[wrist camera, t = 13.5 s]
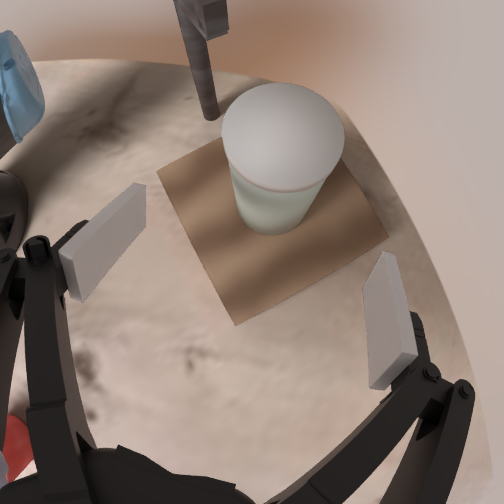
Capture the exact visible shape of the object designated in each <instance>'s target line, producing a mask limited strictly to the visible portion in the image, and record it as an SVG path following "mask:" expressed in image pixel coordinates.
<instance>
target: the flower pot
mask: <svg viewBox="0 0 504 504" xmlns="http://www.w3.org/2000/svg"><path fill="white" fill-rule="evenodd" d="M2 453H3V455H4V457H5V460H6V463H7V465H8V469H9V470H8V473H7V474H6V478H7V481H8V483H10V482H13V481H14V480H15V479H16V477H17V476H18V475H19V474H20V473H21V472H22V471H23V470H24V469H25V468H26V467H27V465H28V464H29V463H30V462H31V461H32V459H33V458H34V456H33V452H32V447H31V442H30V437H29V432H28V427H27V426H26V425H25V424H24V423H23V422H22V421H21V420H20V419H19V418H17V417H15V416H13V415H7V425H6V435H5V442H4V447H3V452H2Z"/></svg>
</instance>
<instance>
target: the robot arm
mask: <svg viewBox="0 0 504 504" xmlns="http://www.w3.org/2000/svg"><path fill="white" fill-rule="evenodd" d="M44 111H45V100H44V95H43V92H42V88H41V85H40V82H39V80H38V77H37V75H36V72H35V70H34V67H33V65H32V63H31V61H30V59H29V57H28V55H27V53H26V51H25V49H24V47H23V45H22V44H21V42H20V40H19V39H18V38H17V37H16V36H15V35H14V33H13V32H12V31H9V30H7V31H5V32H3V33H0V159H1V158H2V157H3V156H4V155H5V154H6V153H7V152H8V151H9V150H10V149H11V148H12V147H14V146H15V145H16V144H17V143H21V142H22V140H23V137H24V136H25V135H26V134H27V133H29V132H30V131H31V130H32V129H33V128H34V127H35V126H36V125H37V124H38V123H39V122H40V121H41V119H42V117H43V115H44ZM27 210H28V202H27V194H26V190H25V187H24V185H23V183H22V182H21V180H20V179H19V178H18V177H16V176H14V175H13V174H11V173H9V172H7V171H4V170H0V504H256V503H255V502H254V501H253V500H252V499H250V498H249V497H248V496H247V495H245V494H244V493H242V492H241V491H239V490H237V489H235V486H236V484H233V483H229V482H225V481H221V480H217V479H214V478H210V477H206V476H191V475H179V474H173V473H171V472H169V471H167V470H166V469H164V468H163V467H161V466H160V465H158V464H157V463H155V462H154V461H152V460H151V459H149V458H148V457H146V456H144V455H142V454H139V453H137V452H134V451H132V450H130V449H127V448H125V447H123V446H120V445H118V446H117V448H116V449H114V448H98V449H97V447H96V444H95V441H94V439H93V437H92V435H91V432H90V430H89V428H88V424H87V421H86V417H85V413H84V409H83V405H82V401H81V397H80V393H79V388H78V383H77V379H76V374H75V368H74V363H73V357H72V351H71V345H70V338H69V331H68V324H67V315H66V306H65V298H64V293H65V292H66V290H67V289H68V291H69V294H70V298H72V299H75V300H77V301H79V302H81V303H84V301H85V300H86V299H87V297H88V296H89V295H90V294H91V292H92V291H93V290H94V288H95V287H96V286H97V285H98V283H99V282H100V281H101V280H102V278H103V277H104V276H105V275H106V273H107V272H108V271H109V270H110V268H111V267H112V266H113V265H114V263H115V262H116V261H117V260H118V259H119V257H120V256H121V255H122V254H123V253H124V252H125V250H126V249H127V248H128V247H129V246H130V244H131V243H132V242H133V241H134V240H135V239H136V237H137V236H138V235H139V234H140V233H141V232H142V231H143V229H144V228H145V227H146V185H142V184H138V183H133V184H132V185H131V186H130V187H128V188H127V189H126V190H125V191H124V192H122V193H121V194H120V195H119V196H118V197H116V198H115V199H114V200H113V201H112V202H110V203H109V204H108V205H107V206H106V207H105V208H104V209H102V210H101V211H100V212H99V213H98V214H97V215H96V216H95V217H93V218H92V219H91V220H90V221H88V220H84V221H81V222H79V223H77V224H76V225H75V226H74V227H72V228H71V229H70V231H68V232H67V233H66V234H65V236H63V237H62V238H61V239H59V240H58V241H57V242H56V243H55V244H54V245H53V246H52V247H50V242H49V239H48V238H47V237H46V236H42V235H38V236H34V237H31V238H29V239H28V240H27V241H26V242H25V243H24V244H23V247H22V248H23V251H24V254H25V258H19V257H17V254H16V252H15V251H16V250H17V248H18V246H19V244H20V241H21V239H22V236H23V233H24V229H25V225H26V220H27ZM363 297H364V307H365V318H366V331H367V347H368V366H369V388H371V389H377V390H385V389H386V388H387V387H388V386H389V385H390V384H391V390H392V391H391V392H390V393H389V394H388V395H387V396H386V397H385V398H384V399H383V400H382V401H381V402H380V404H379V405H378V406H377V407H376V408H375V409H374V411H373V412H372V413H371V414H370V415H369V416H368V417H367V418H366V419H365V420H364V421H363V422H362V423H361V424H360V425H359V426H358V427H357V428H356V429H355V430H354V431H353V432H352V433H351V434H350V435H349V436H348V437H347V438H346V439H344V440H343V441H342V442H341V443H340V444H339V445H338V446H337V447H336V448H335V449H334V450H333V451H331V452H330V453H329V454H328V455H327V456H326V457H325V458H323V459H322V460H321V461H320V462H319V463H318V464H316V465H315V466H314V467H313V468H312V469H311V470H309V471H308V472H307V473H306V474H304V475H303V476H302V477H301V478H299V479H298V480H297V481H296V482H294V483H293V484H292V485H290V486H289V487H288V488H286V489H285V490H284V491H282V492H281V493H279V494H277V495H276V496H274V497H273V498H271V499H270V500H268V501H267V502H265V503H264V504H342V503H343V502H344V501H345V500H346V499H348V498H349V497H350V496H351V495H352V494H353V493H354V492H355V491H356V490H357V489H358V488H359V487H360V486H361V484H362V483H363V482H364V481H365V480H366V479H367V478H368V477H369V476H370V475H371V474H372V473H373V472H374V471H375V469H376V468H377V467H378V466H379V465H380V464H381V463H382V462H383V460H384V459H385V458H386V457H387V456H388V455H389V453H390V452H391V451H392V450H393V449H394V447H395V446H396V445H397V444H398V442H399V441H400V440H401V439H402V437H403V436H404V435H405V433H406V432H407V431H408V429H409V428H410V427H411V425H412V424H413V423H414V421H415V420H416V419H417V417H418V418H419V419H418V422H417V425H416V427H415V430H414V432H413V435H412V437H411V440H410V442H409V444H408V447H407V449H406V451H405V454H404V456H403V458H402V460H401V462H400V465H399V467H398V469H397V471H396V473H395V475H394V477H393V479H392V481H391V483H390V485H389V487H388V489H387V491H386V493H385V494H384V496H383V498H382V500H381V502H380V504H446V501H447V499H448V496H449V494H450V491H451V488H452V485H453V482H454V479H455V476H456V473H457V470H458V467H459V464H460V460H461V457H462V454H463V450H464V446H465V442H466V439H467V435H468V430H469V426H470V422H471V417H472V412H473V407H474V401H475V391H474V388H473V387H472V385H471V384H470V383H469V382H468V381H466V380H464V379H459V380H458V381H457V382H455V383H454V384H452V383H450V382H448V381H446V380H444V379H442V378H441V373H440V371H439V369H438V368H437V366H436V365H434V364H433V363H431V361H430V356H429V351H428V346H427V342H426V339H425V333H424V328H423V324H422V321H421V319H420V318H419V316H418V314H417V313H415V312H411V311H409V307H408V303H407V299H406V294H405V290H404V286H403V282H402V279H401V275H400V271H399V267H398V264H397V260H396V257H395V255H394V254H391V253H388V252H385V251H382V253H381V255H380V257H379V259H378V261H377V263H376V265H375V266H374V268H373V270H372V272H371V274H370V276H369V278H368V279H367V281H366V283H365V285H364V287H363ZM23 321H24V337H25V359H26V372H27V383H28V392H29V400H30V406H29V407H28V408H27V409H26V420H27V426H28V432H29V437H30V442H31V447H32V452H33V456H34V460H35V464H36V468H37V473H34V474H32V475H29V476H26V477H24V478H21V479H18V480H15V481H13V482H10V483H8V481H7V478H6V474H7V473H8V470H9V469H8V465H7V463H6V460H5V457H4V455H3V453H2V452H3V447H4V442H5V435H6V425H7V413H8V403H9V395H10V388H11V381H12V374H13V368H14V363H15V358H16V352H17V348H18V343H19V338H20V334H21V330H22V325H23Z"/></svg>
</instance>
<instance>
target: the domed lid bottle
mask: <svg viewBox="0 0 504 504" xmlns="http://www.w3.org/2000/svg"><path fill="white" fill-rule="evenodd" d="M222 139H223V144H224V149H225V153H226V156H227V158H228V161H229V167H230V172H231V177H232V183H233V188H234V193H235V198H236V204H237V209H238V212H239V215H240V217H241V219H242V220H243V222H244V223H245V224H246V225H247V226H248V227H249V228H251V229H252V230H254V231H255V232H257V233H260V234H263V235H269V236H276V235H282V234H285V233H287V232H289V231H291V230H293V229H294V228H295V227H296V226H297V225H298V224H299V223H300V222H301V221H302V219H303V217H304V216H305V214H306V212H307V211H308V209H309V207H310V205H311V204H312V202H313V200H314V199H315V197H316V195H317V193H318V192H319V190H320V188H321V187H322V185H323V183H324V181H325V180H326V178H327V177H328V176H329V174H330V173H331V172H332V170H333V169H334V167H335V166H336V164H337V162H338V161H339V159H340V157H341V154H342V152H343V148H344V142H345V133H344V128H343V124H342V122H341V119H340V117H339V115H338V113H337V112H336V110H335V109H334V108H333V107H332V105H331V104H330V103H329V102H328V101H327V100H326V99H324V98H323V97H322V96H320V95H319V94H317V93H316V92H314V91H312V90H310V89H307V88H305V87H302V86H299V85H295V84H289V83H268V84H264V85H260V86H257V87H254V88H252V89H250V90H248V91H246V92H244V93H243V94H241V95H240V96H239V97H238V98H236V99H235V101H234V102H233V103H232V104H231V105H230V107H229V108H228V110H227V112H226V114H225V116H224V119H223V124H222Z"/></svg>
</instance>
